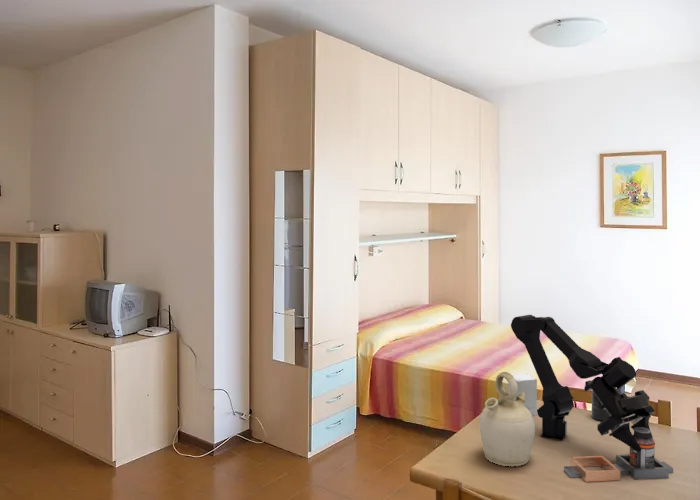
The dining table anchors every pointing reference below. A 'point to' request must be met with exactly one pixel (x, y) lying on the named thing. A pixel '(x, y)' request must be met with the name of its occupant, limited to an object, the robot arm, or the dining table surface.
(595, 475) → the socket rail
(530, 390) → the supplement box
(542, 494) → the dining table surface
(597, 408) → the supplement bottle
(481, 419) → the jug
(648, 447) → the supplement bottle
